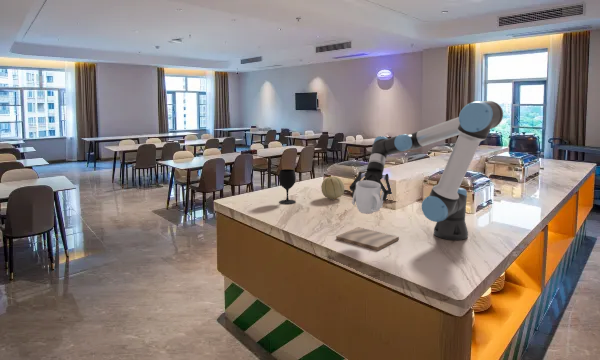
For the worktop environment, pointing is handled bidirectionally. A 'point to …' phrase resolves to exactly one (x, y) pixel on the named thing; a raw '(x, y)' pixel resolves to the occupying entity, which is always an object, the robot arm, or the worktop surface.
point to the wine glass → (287, 183)
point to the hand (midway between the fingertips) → (366, 204)
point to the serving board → (367, 238)
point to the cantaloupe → (332, 187)
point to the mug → (368, 196)
